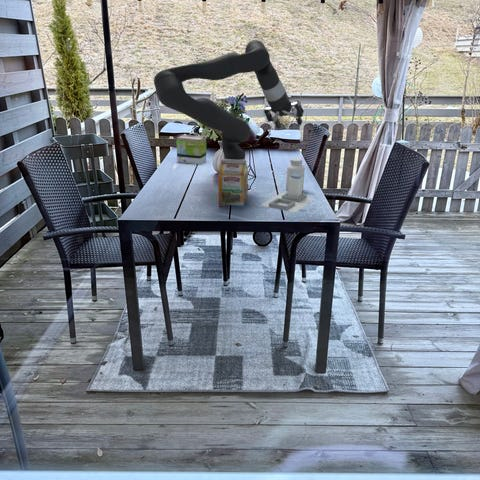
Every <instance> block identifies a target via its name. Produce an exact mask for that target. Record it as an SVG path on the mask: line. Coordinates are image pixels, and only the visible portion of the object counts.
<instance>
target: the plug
mask: <svg viewBox="0 0 480 480" xmlns="http://www.w3.org/2000/svg"><path fill="white" fill-rule="evenodd" d="M302 184H303V185H304V183H303V178H302V177H301V175H298V174H293V175H291V178H289V187H288V191H287V192H288V196H290V197H295V198H299V197H301V196H302V193H303V191H302Z"/></svg>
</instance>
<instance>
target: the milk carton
mask: <svg viewBox="0 0 480 480" xmlns="http://www.w3.org/2000/svg"><path fill="white" fill-rule="evenodd" d="M217 177H218V207H219V208H223V207H225V206H239V207H240V206H243V207H244V206H245V204H246V202H247V199H248V191H249V190H248V186H249V185H248V184H249V183H248V182H249V181H248V180H249V179H248V178H249V168H248V164H247V160H246V159H245V160H232V159H224V158H221V159H220V164H219V169H218V176H217Z"/></svg>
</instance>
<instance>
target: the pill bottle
mask: <svg viewBox="0 0 480 480" xmlns="http://www.w3.org/2000/svg"><path fill="white" fill-rule="evenodd" d="M289 161H290V164H288V166H287V170H286V181H285V183H286V184H285V191H286V192H288V187H289V178H291V175H293V174H298V175H301V177H302V178H303V184H302V192H303V190H304V179H305V166H304V165H303V159H302V158H300V157H299V158H298V157H293V158H292V157H291V158H290V160H289Z"/></svg>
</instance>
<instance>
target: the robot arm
mask: <svg viewBox="0 0 480 480" xmlns="http://www.w3.org/2000/svg"><path fill="white" fill-rule="evenodd" d="M267 49H268V48H266V46H265V45H264V43H263V42H262V41H261V40H257V39H252V40H251V41H249V42H248V43H247V44H246V46H245V49H244V53H240V54H239V53H238V52H236V51H232V52H228V53H226V54H223V55H221V56H218V57H214V58H213V59H209V60H205V61H201V62H196V63H190V64H185V65H180V66H179V65H178V66H176V67H175V66H174V67H170V68H169V67H168V68H166V69H163V70H161V71H159V72H158V73H156V74H155V76H154V78H153V85H154V88H155V91H156V95H157V97H158V100H159V102H160V103H161V104H162V105H163V106H164V107H167V108H169V109H171V110H174V111H176V112H178V113H181V114H183V115H185V116H187V117H189V118H191V119H193V120H195V121H196V122H198V123H199V124H201V125H203V126H205V127H207V128H209V129H213V130H215V131H220V132H221V145H222V147H221V148H222V152H223V159H232V160H246V152H245V150H244V149H243V148H241V147H240V146H239V145H238V143H240V144H241V143H245V142H247V141H248V140H249V138H250V137H251V127H250V125H249V123H248V122H247V121H245V120H244V119H243V120H242V119H240V118H238V117H236V116H234V115H233V114H231V112H228V111H227V110H226V109H224V108H223V107H221V106H220V105H218V104H217V103H215V102H214V101H213V100H211V99H209V98H208V97H199V98H196V99H195V98H194V97H192V96H191V95H189V94H188V92H186V89H185V87H184V84H183V83H184V82H186V81H190V80H193V79H194V80H195V79H198V80H199V79H201V80H206V81H207V80H208V81H220V80H225V79H228V78H230V77H232V76H235V75H238V74H246V73H253V72H254V73H255V76H256V79H257V81H258V83H259V85H260V88H261V90H262V93H263V96H264V98H265V99H266V102H267V104H268V105H269V106H268V105H265V107H264V111H263V113H264V115H265V118H266V119H267V122H268V123H271V122H273V123H274V125H275V127H276V128H277V129H278V130H280V129H281V128H282V124H281V122H280V119H279V118H278V117H283V116H285V117H286V116H289V117H291V118H295V121H296V123H297V125H298V126H299V127H300V126H302V123H303V119H302V117H303V116H304V112H305V111H304V109H303V107H302V104H301V102H300V101H299V100H295V102H293V103H292V102H291V101H290V98H289V95H288V93H287V91H286V88H285V86H284V83H282V80H281V79H280V77H279V74H278V72H277V70H276V69H275V67H274V66H273V63H272V62H271V59H270V58H271V57H270V52H269V51H268V50H267ZM272 113H273V114H274V116H273V115H272Z"/></svg>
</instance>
